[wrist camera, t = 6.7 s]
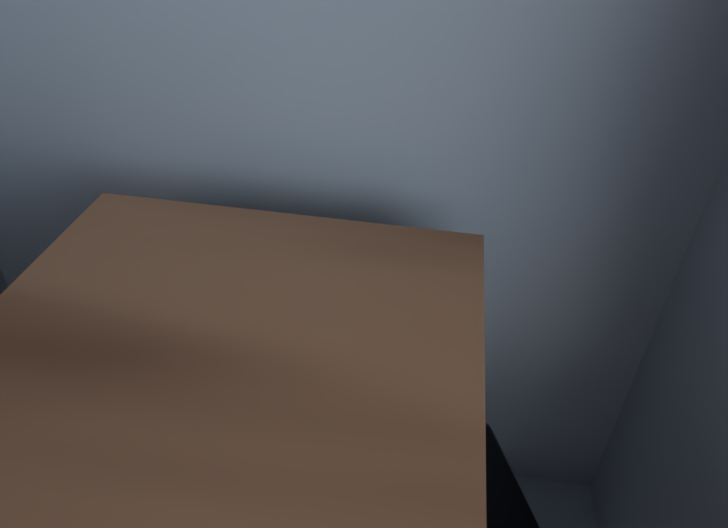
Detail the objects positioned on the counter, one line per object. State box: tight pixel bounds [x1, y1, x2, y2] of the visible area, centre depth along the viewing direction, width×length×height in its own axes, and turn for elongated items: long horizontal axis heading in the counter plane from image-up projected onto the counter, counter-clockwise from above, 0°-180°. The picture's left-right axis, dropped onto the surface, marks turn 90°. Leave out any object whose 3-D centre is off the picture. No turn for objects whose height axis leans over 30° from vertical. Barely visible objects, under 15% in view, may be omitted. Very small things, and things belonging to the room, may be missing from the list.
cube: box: [0, 193, 487, 528], centre depth 7 cm, size 5×5×5 cm
